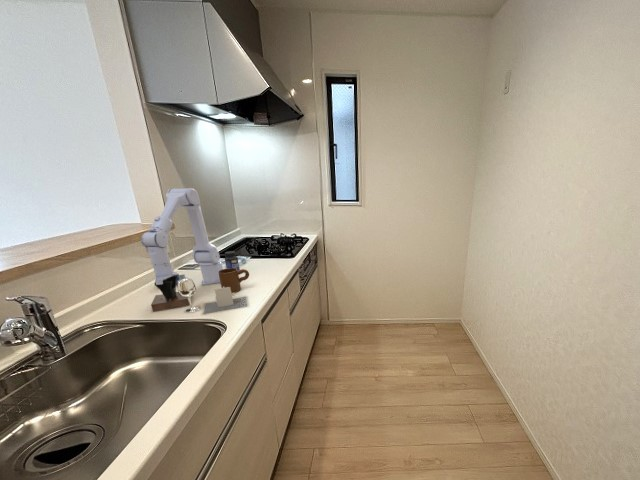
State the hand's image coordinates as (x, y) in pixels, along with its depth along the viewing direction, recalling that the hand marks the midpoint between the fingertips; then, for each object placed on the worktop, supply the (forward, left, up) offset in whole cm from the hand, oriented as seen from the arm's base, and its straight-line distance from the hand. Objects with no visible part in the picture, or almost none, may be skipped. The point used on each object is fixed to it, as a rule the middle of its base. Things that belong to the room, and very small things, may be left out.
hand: (170, 295), depth 125 cm
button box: (+3, -30, -3) cm, 30 cm away
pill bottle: (-24, -33, -4) cm, 41 cm away
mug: (-24, -4, -4) cm, 25 cm away
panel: (0, 0, -3) cm, 3 cm away
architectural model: (-19, +12, -4) cm, 23 cm away
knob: (0, 0, 0) cm, 0 cm away
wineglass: (-7, +11, -4) cm, 14 cm away
